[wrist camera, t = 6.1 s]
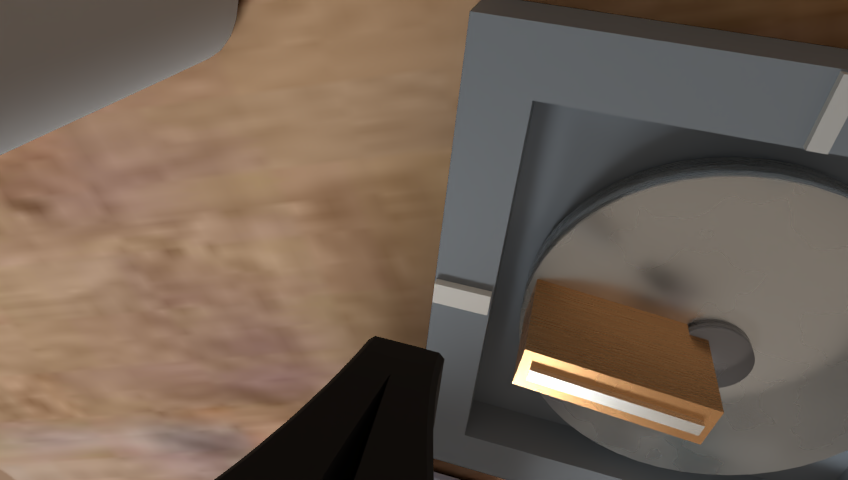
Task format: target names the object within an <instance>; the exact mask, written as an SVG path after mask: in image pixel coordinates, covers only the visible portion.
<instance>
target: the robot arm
mask: <svg viewBox="0 0 848 480" xmlns="http://www.w3.org/2000/svg"><path fill="white" fill-rule="evenodd" d="M443 365H444V358H443V357H442V355H441V354H440V353H439V352H435V351H431V350H427V349H423V348H419V347H416V346H412V345H408V344H404V343H400V342H396V341H392V340H388V339H385V338H381V337H377V336H375V337H373V338H371V339H369V340H368V341H367V342H366V344H365V345H364V346H363V347H362V348H361V349H360V350H359V351H358V353H357V354H356V355H355V356H354V357H353V358H352V359H351V360H350V361H349V362H348V363H347V364H346V365H345V366H344V368H343V369H342V370H341V371H340V372H339V373H338V374H337V375H336V376H335V377H334V378H333V379H332V380H331V381H330V382H329V383H328V384H327V385H326V386H325V387H324V388H323V389H321V390H320V391H319V392H318V393H317V394H316V395H315V396H314V397H313V398H312V399H311V400H310V401H309V402H308V403H307V404H305V405H304V406H303V407H302V408H301V409H300V410H299V411H298V412H297V413H296V414H295V415H294V416H292V417H291V418H290V419H289V420H288V421H287V422H286V423H284V424H283V425H282V426H281V427H280V428H279V429H277V430H276V431H275V432H274V433H273V434H271V435H270V436H269V437H268V438H267V439H265V440H264V441H263V442H262V443H261V444H260V445H258V446H257V447H256V448H255V449H254V450H252V451H251V452H250V453H249V454H247V455H246V456H245V457H244V458H242V459H241V460H240V461H238V462H237V463H236V464H235V465H233V466H232V467H231V468H229V469H228V470H227V471H225V472H224V473H223V474H221V475H220V476H219V477H217V478H216V479H215V480H460V479H457V478H454V477H450V476H447V475H443V474H440V473H437V472H434V471H433V428H434V423H435V417H436V410H437V404H438V398H439V391H440V385H441V378H442V372H443Z"/></svg>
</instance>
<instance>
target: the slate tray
mask: <svg viewBox="0 0 848 480" xmlns="http://www.w3.org/2000/svg"><path fill="white" fill-rule="evenodd" d="M708 157H749V158H761V159H771V160H776V161H781V162H786V163H791V164H796V165H800V166H803V167H806V168H809V169H812V170H815V171H818V172H821V173H824V174H827V175H829V176H831V177H833V178H835V179H837V180H839V181H841V182H843V183H845V184H847V185H848V49H842V48H836V47H829V46H822V45H816V44H809V43H802V42H796V41H789V40H782V39H776V38H769V37H762V36H756V35H749V34H742V33H736V32H729V31H722V30H716V29H709V28H702V27H696V26H689V25H682V24H676V23H669V22H662V21H656V20H649V19H642V18H636V17H629V16H622V15H616V14H609V13H602V12H596V11H589V10H582V9H576V8H569V7H562V6H556V5H549V4H542V3H536V2H529V1H522V0H481V1H480V2H479V3H478V4H477V5H476V6H475V7H474V8H473V9H472V10H471V11H470V15H469V22H468V30H467V38H466V46H465V53H464V61H463V69H462V77H461V84H460V92H459V100H458V107H457V115H456V123H455V131H454V138H453V146H452V154H451V162H450V169H449V177H448V185H447V192H446V200H445V208H444V216H443V223H442V231H441V239H440V247H439V254H438V262H437V270H436V277H435V285H434V293H433V300H432V308H431V316H430V324H429V332H428V339H427V347H426V349H427V350H431V351H435V352H439V353H440V354H441V355H442V357H443V358H444V365H443V372H442V378H441V385H440V391H439V398H438V404H437V410H436V417H435V423H434V428H433V458H434V459H437V460H441V461H444V462H448V463H451V464H455V465H458V466H461V467H465V468H468V469H472V470H475V471H479V472H482V473H486V474H489V475H492V476H496V477H499V478H503V479H506V480H848V450H847V451H844V452H842V453H839V454H837V455H834V456H832V457H829V458H827V459H824V460H821V461H818V462H814V463H811V464H807V465H804V466H801V467H796V468H791V469H786V470H781V471H776V472H767V473H759V474H746V475H711V474H698V473H689V472H681V471H676V470H671V469H666V468H661V467H657V466H653V465H650V464H646V463H643V462H639V461H636V460H634V459H631V458H628V457H626V456H623V455H621V454H618V453H616V452H614V451H612V450H610V449H607V448H605V447H603V446H601V445H599V444H597V443H596V442H594V441H593V440H591V439H589V438H588V437H586V436H584V435H583V434H581V433H580V432H579V431H577V430H576V429H575V428H573V427H572V426H571V425H569V424H568V423H567V422H566V421H564V420H563V419H562V418H561V417H560V416H559V415H558V414H557V413H556V412H555V411H554V410H553V409H552V408H551V407H550V405H549V404H548V403H547V402H546V400H545V399H544V398H543V397H542V396H541V394H540V393H539V392H537V391H534V390H531V389H528V388H525V387H522V386H519V385H516V384H512V381H513V376H514V370H515V365H516V360H517V354H518V349H519V343H520V335H519V324H520V313H521V307H522V302H523V297H524V292H525V287H526V283H527V279H528V275H529V272H530V269H531V266H532V264H533V262H534V260H535V257H536V255H537V253H538V251H539V250H540V248H541V246H542V245H543V243H544V242H545V240H546V239H547V237H548V236H549V234H550V233H551V232H552V231H553V230H554V229H555V228H556V226H557V225H558V224H559V223H560V222H561V221H562V220H563V219H564V218H565V217H566V216H567V215H568V214H569V213H570V212H572V211H573V210H574V209H575V208H576V207H577V206H578V205H580V204H581V203H582V202H584V201H585V200H587V199H588V198H590V197H591V196H593V195H594V194H596V193H597V192H599V191H600V190H602V189H604V188H606V187H608V186H610V185H612V184H614V183H616V182H618V181H620V180H622V179H624V178H626V177H629V176H632V175H634V174H637V173H640V172H642V171H645V170H648V169H651V168H655V167H659V166H663V165H667V164H671V163H675V162H679V161H686V160H693V159H701V158H708Z"/></svg>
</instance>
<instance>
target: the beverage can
mask: <svg viewBox="0 0 848 480" xmlns="http://www.w3.org/2000/svg"><path fill="white" fill-rule="evenodd" d="M237 9H238V0H0V155H2V154H4V153H6V152H8V151H10V150H13V149H15V148H17V147H19V146H21V145H23V144H25V143H28V142H30V141H32V140H34V139H36V138H38V137H41V136H43V135H45V134H47V133H49V132H51V131H54V130H56V129H58V128H60V127H62V126H64V125H67V124H69V123H71V122H73V121H75V120H77V119H80V118H82V117H84V116H86V115H88V114H90V113H93V112H95V111H97V110H99V109H101V108H103V107H106V106H108V105H110V104H112V103H114V102H116V101H119V100H121V99H123V98H125V97H127V96H129V95H132V94H134V93H136V92H138V91H140V90H142V89H145V88H147V87H149V86H151V85H153V84H155V83H157V82H160V81H162V80H164V79H166V78H168V77H170V76H172V75H175V74H177V73H179V72H181V71H183V70H185V69H187V68H190V67H192V66H194V65H196V64H198V63H200V62H202V61H205V60H207V59H209V58H210V57H212V56H213V55H215V54H216V53H218V52H219V51H220V50H221V49H222V48H223V47H224V45H225V44H226V42H227V41H228V39H229V38H230V36H231V33H232V31H233V28H234V25H235V22H236V17H237Z"/></svg>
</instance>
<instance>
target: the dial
mask: <svg viewBox="0 0 848 480" xmlns="http://www.w3.org/2000/svg"><path fill="white" fill-rule="evenodd" d="M519 335H520V343H519V349H518V354H517V360H516V365H515V370H514V376H513V381H512V384H516V385H519V386H522V387H525V388H528V389H531V390H534V391H537V392H539V393H540V394H541V396H542V397H543V398H544V399H545V400H546V402H547V403H548V404H549V405H550V407H551V408H552V409H553V410H554V411H555V412H556V413H557V414H558V415H559V416H560V417H561V418H562V419H563V420H564V421H566V422H567V423H568V424H569V425H571V426H572V427H573V428H575V429H576V430H577V431H579V432H580V433H581V434H583V435H584V436H586V437H588V438H589V439H591V440H593V441H594V442H596V443H597V444H599V445H601V446H603V447H605V448H607V449H610V450H612V451H614V452H616V453H618V454H621V455H623V456H626V457H628V458H631V459H634V460H636V461H639V462H643V463H646V464H650V465H653V466H657V467H661V468H666V469H671V470H676V471H681V472H689V473H698V474H711V475H746V474H759V473H767V472H776V471H781V470H786V469H791V468H796V467H801V466H804V465H807V464H811V463H814V462H818V461H821V460H824V459H827V458H829V457H832V456H834V455H837V454H839V453H842V452H844V451H847V450H848V185H847V184H845V183H843V182H841V181H839V180H837V179H835V178H833V177H831V176H829V175H827V174H824V173H821V172H818V171H815V170H812V169H809V168H806V167H803V166H800V165H796V164H791V163H786V162H781V161H776V160H771V159H761V158H749V157H708V158H701V159H693V160H686V161H679V162H675V163H671V164H667V165H663V166H659V167H655V168H651V169H648V170H645V171H642V172H640V173H637V174H634V175H632V176H629V177H626V178H624V179H622V180H620V181H618V182H616V183H614V184H612V185H610V186H608V187H606V188H604V189H602V190H600V191H599V192H597V193H596V194H594V195H593V196H591V197H590V198H588V199H587V200H585V201H584V202H582V203H581V204H580V205H578V206H577V207H576V208H575V209H574V210H573V211H572V212H570V213H569V214H568V215H567V216H566V217H565V218H564V219H563V220H562V221H561V222H560V223H559V224H558V225H557V226H556V228H555V229H554V230H553V231H552V232H551V233H550V234H549V236H548V237H547V239H546V240H545V242H544V243H543V245H542V246H541V248H540V250H539V251H538V253H537V255H536V257H535V260H534V262H533V264H532V266H531V269H530V272H529V275H528V279H527V283H526V287H525V292H524V297H523V302H522V307H521V313H520V324H519Z"/></svg>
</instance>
